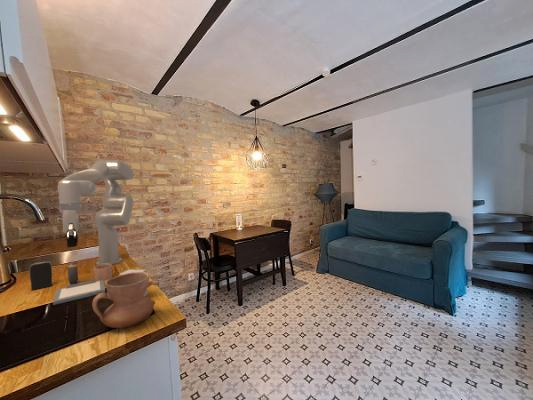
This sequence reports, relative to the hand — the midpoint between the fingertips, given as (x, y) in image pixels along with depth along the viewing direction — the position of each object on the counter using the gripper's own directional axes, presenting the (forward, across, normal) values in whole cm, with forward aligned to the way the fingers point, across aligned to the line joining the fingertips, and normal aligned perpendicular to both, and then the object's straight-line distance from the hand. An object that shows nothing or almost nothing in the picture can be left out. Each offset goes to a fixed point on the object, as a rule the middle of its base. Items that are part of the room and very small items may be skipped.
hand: (72, 244), depth 102 cm
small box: (+19, +32, +19) cm, 42 cm away
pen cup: (+18, 0, +10) cm, 21 cm away
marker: (+18, -1, 0) cm, 19 cm away
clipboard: (+18, +12, +2) cm, 22 cm away
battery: (+19, -6, -12) cm, 23 cm away
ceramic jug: (+19, +50, +15) cm, 55 cm away
